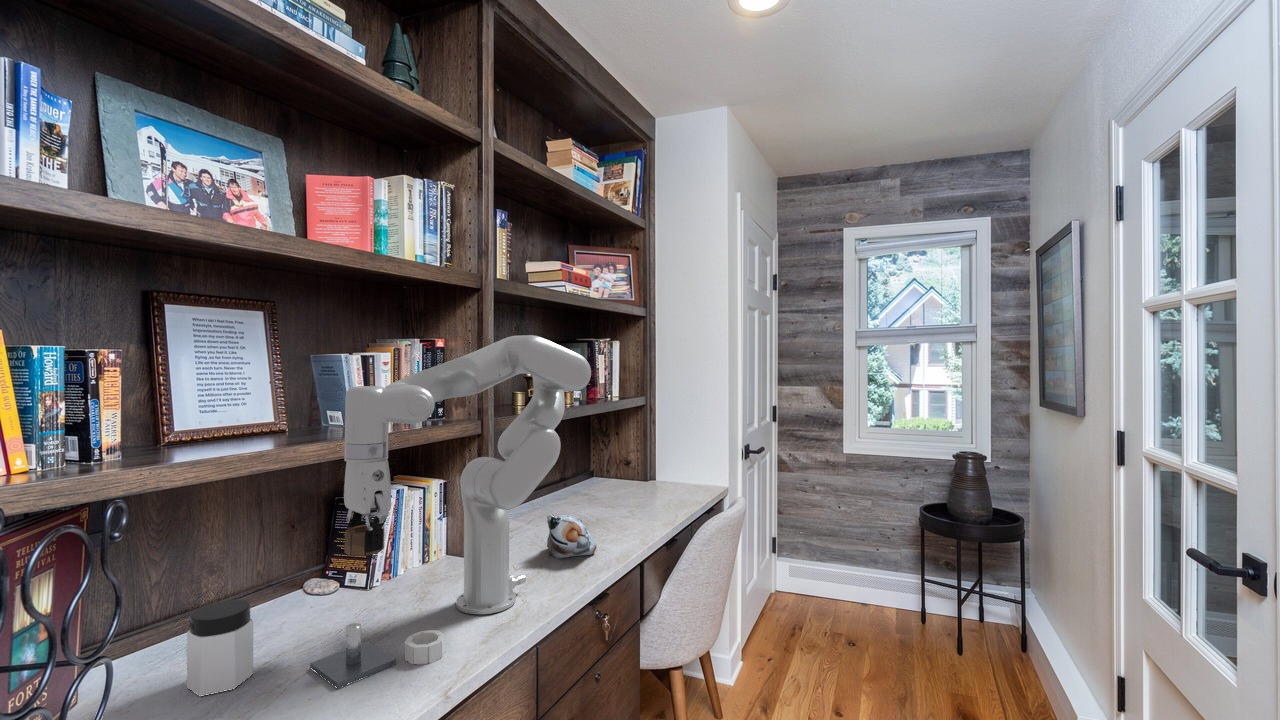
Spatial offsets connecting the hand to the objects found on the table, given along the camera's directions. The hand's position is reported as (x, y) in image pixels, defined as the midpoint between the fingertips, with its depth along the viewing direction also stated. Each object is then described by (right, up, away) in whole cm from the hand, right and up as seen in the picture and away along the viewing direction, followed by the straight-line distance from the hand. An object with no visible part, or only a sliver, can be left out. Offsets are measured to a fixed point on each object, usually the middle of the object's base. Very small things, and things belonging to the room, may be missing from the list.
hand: (364, 545), depth 113 cm
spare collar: (+13, -18, -5) cm, 23 cm away
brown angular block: (0, -1, 0) cm, 1 cm away
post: (+2, -18, -10) cm, 21 cm away
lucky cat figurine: (+34, -18, +49) cm, 62 cm away
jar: (-17, -18, -15) cm, 29 cm away
